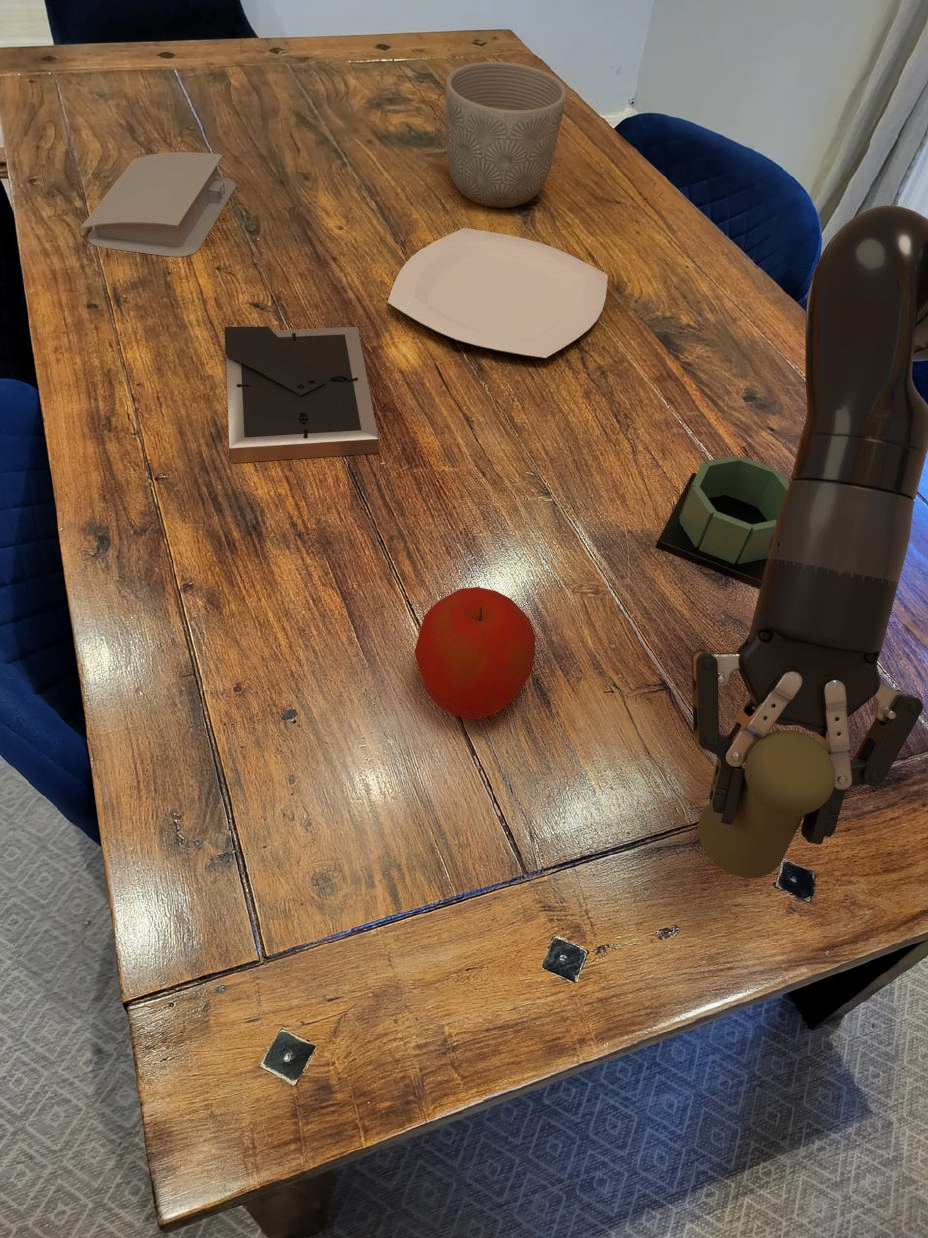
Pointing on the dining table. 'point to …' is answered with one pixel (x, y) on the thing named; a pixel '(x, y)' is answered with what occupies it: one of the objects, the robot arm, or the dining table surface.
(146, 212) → the book
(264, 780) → the dining table surface
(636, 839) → the dining table surface
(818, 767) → the cork
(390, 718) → the dining table surface
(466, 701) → the apple
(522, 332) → the plate
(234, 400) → the face-down photo frame
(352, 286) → the dining table surface
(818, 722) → the robot arm
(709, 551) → the cup holder
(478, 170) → the planter
